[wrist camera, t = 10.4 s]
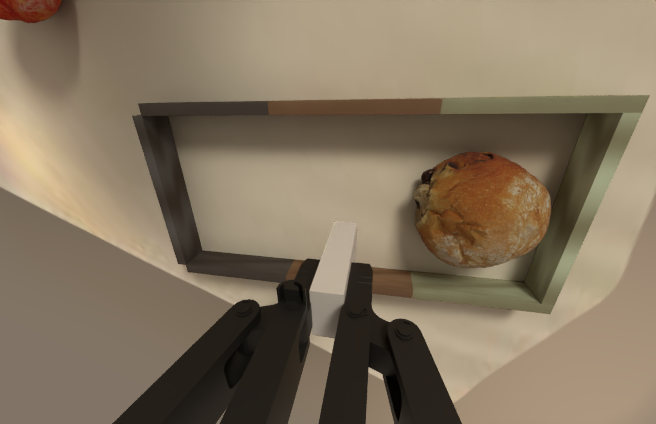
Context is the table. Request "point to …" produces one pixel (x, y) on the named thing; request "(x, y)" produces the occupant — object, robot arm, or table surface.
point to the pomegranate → (28, 10)
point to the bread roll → (481, 210)
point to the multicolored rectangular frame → (581, 175)
